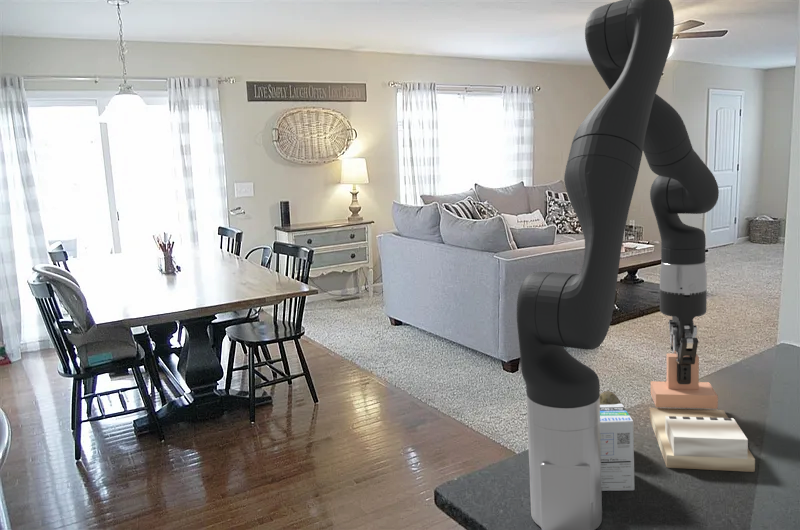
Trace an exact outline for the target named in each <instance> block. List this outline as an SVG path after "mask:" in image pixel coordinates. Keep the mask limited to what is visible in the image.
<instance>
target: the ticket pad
mask: <svg viewBox="0 0 800 530" xmlns="http://www.w3.org/2000/svg"><path fill="white" fill-rule="evenodd" d="M649 421H650V424H651V427H652V429H653V432H654V434H655V438H656V440H657V444H658V446H659V449H660V453H661V455H662V458H663V461H664V463H665V467H666V468H669V469H670V468H671V469H689V470H706V471H709V470H710V471H727V472H728V471H730V472H747V473H748V472H749V473H750V472H751V473H755V471H756V470H755V469H756V458H755V457H754V455H753V454H752V452H751V450H750V449H749V447H748V446H749V444H748V443H749V439H748V438H747V436H746V435H745V433H744V431H743V430H742V429H741V427H740V425H739V424H738V423H737V421H736V419H734V418H733V417H728V415H727V413H726V412H725V410H724V409H709V408H672V407H649Z"/></svg>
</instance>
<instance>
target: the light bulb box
mask: <svg viewBox="0 0 800 530" xmlns="http://www.w3.org/2000/svg"><path fill="white" fill-rule="evenodd" d="M634 438H635V437H634V420H633V418H632V417H631V415H630V414H629V413H628V411H627V410H626V408H625V406H624V405H623V403H621V404H604V405H600V446H601V492H605V491H607V492H611V491H613V492H615V491H616V492H618V491H619V492H620V491H635V442H634V441H635V440H634Z"/></svg>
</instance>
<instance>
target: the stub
mask: <svg viewBox="0 0 800 530" xmlns="http://www.w3.org/2000/svg"><path fill="white" fill-rule="evenodd" d="M683 357H688V356H683ZM699 370H700V357H699V355H698V354H697V353H696V358H695V364H691V383H690V384H679V383H678V382H677V362H676V353H673V352H672V353H671V352H670V353H666V381H659V380H658V381H655V380H654V381H652V380H651V381H650V395H651V398H652V400H653V403H654V406H655V408H672V409H709V410H719V409H718V405H719V404H718V403H719V401H718V399H719V396H718V394H717V392H716V391H715V389H714V387H713V386H712V384H711V383H710V382H708V381H704V382H703V381H700V378H699V377H700V374H699V373H700V371H699Z"/></svg>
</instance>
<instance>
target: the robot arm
mask: <svg viewBox="0 0 800 530" xmlns="http://www.w3.org/2000/svg"><path fill="white" fill-rule="evenodd" d="M585 23H586V24H585V28H584V38H585V44H586V49H587V52H588V55H589V57H590V59H591V62H592V63H593V65H594V67H595V69H596V70H597V72H598V73H599V75H600V77H601V79H602V81H603V82H604V84H605V85H606V86H607V87H606V88H608V92H607V93H606V94H605V95H604V96H603V97H602V98H601V99H600V100H599V101H598V103H597V104H596V105H595V106H594V107H593V109H592V110H591V111H590V112H589V113H588V114H587V115H586V117H585V118H584V120H583V121H582V122H581V124H579V126H578V128H577V129H576V132H575V134H574V136H573V139H572V142H571V146H570V150H569V153H568V158H567V161H566V165H565V172H564V178H563V181H564V187H565V190H566V194H567V198H568V199H569V202H570V204H571V206H572V210H574V213H575V216H576V218H577V219H578V222H579V225H580V227H581V230H582V235H583V237H584V256H583V262H582V267H581V270H580V273H568V272H553V271H534V272H532V273H530V274H528V275H527V276H526V277H525V278H524V279H523V280H522V283H521V285H520V287H519V290H518V294H517V300H516V327H517V336H518V337H517V338H518V348H519V355H520V356H519V359H520V369H521V374H522V378H523V380H524V382H525V389H526V390H525V391H526V393H525V394H526V415H527V416H526V419H527V420H526V421H527V441H528V442H527V444H528V464H529V465H528V466H529V467H528V470H529V491H530V515H531V518H532V520H533V521H534V522H535V524H536V525H537V526H538V527H540V528H541V530H596V529H598V528H599V526H600V525H601V524H602V522H603V506H602V504H603V503H602V502H603V500H602V497H603V495H602V491H601V446H600V394H601V393H600V392H601V391H600V388H601V387H600V385H601V384H600V379H599V376H598V374H597V373H596V372H595V370H593V369H592V368H591V367H589V366H588V365H586V364H584V363H583V362H580V361H579V360H577V359H576V358H575V357H574V356H573V355H571V354H570V353H569V352H568V351H567V349H565V348H572V349H579V350H589V351H591V350H595V349H598V347H600V346H601V345H602V344H603V343H604V341H605V339H606V337H607V335H608V332H609V329H610V326H611V322H612V319H613V312H614V308H615V307H614V305H615V299H616V291H617V285H618V277H619V268H620V261H621V255H622V247H623V242H624V241H623V240H624V234H625V229H626V225H627V220H628V216H629V211H630V206H631V204H632V203H631V202H632V199H633V195H634V191H635V187H636V183H637V180H638V175H639V172H640V171H639V170H640V166H641V162H642V157H643V154H644V156H645V159H646V162H647V164H648V165H647V166H649V169H650V170H651V171H652V173H653V174H655V175H658V176H656V177H655V179H654V180H653V182H652V184H651V187H650V191H649V199H650V203H651V207H652V211H653V213H654V216H655V220H656V224H657V228H658V232H659V236H660V243H661V245H660V246H661V247H660V252H661V255H660V257H661V259H660V261H661V263H660V269H659V270H660V271H659V311H660V313H661V314H663V315H665V316H668V317H671V319H669V320H668V330H669V340H670V341H669V342H670V351H671V352H672V353H676V362H677V382H678V383H679V384H690V383H691V364H695V358H696V354H697V351H698V345H699V340H698V337H696V336H697V335H698V327H697V325H695V324H694V318H696V317H702V316H704V315H705V314H706V313H707V301H708V300H707V298H708V297H707V294H708V293H707V289H708V288H707V286H708V276H707V275H708V274H707V266H706V246H707V245H706V240H707V239H706V233H705V231H704V230H703V229H701V228H699V227H695V226H692V225H688V224H685V223H684V222H683V221H682V220H681V218H680V216H679V215H680V214H686V215H689V214H690V215H691V214H692V215H693V214H694V215H696V214H697V215H699V214H701V215H702V214H706V213H708V212H710V211H711V210H712V209H713V208H714V207H716V205H717V203H718V199H719V194H720V191H719V186H718V185H719V184H718V182H717V179H716V178H715V176H714V174H713V172H712V171H711V170H710V169H709V167H708V166H707V164H706V163H705V162H704V161H703V160H702V159H701V157H700V156H699V155H698V154H697V152H696V151H695V150H694V149H693V145H692V143H691V139H690V135H689V133H688V131H687V128H686V125H685V122H684V120H683V118H682V117H681V115H680V114H679V112H678V111H677V110H676V109H675V108H674V107H673V106H672V105H671V104H670V103H669V102H667V101H666V100H665V99H663V98H662V97H661V96H660V95H658V94H657V90H658V87H659V85H660V81H661V79H662V76H663V72H664V69H665V66H666V64H667V60H668V57H669V54H670V49H671V47H672V43H673V37H674V29H675V13H674V9H673V5H672V3H671V1H670V0H618V1H613V2H610V3H608V4H607V3H606V4H604V5H600V6H599V7H596V8H595V9H593V10H592V11H591V13H589V14H588V17H587V19H586V22H585ZM683 356H688V357H683Z"/></svg>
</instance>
